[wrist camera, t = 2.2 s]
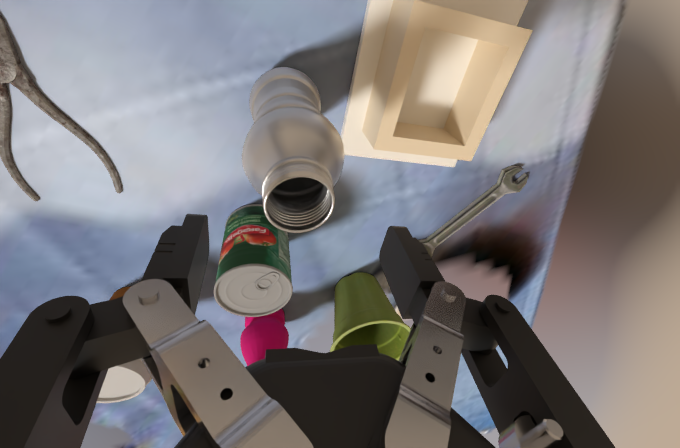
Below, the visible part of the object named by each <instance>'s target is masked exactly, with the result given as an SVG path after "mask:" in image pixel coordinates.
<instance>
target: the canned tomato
mask: <svg viewBox="0 0 680 448" xmlns="http://www.w3.org/2000/svg"><path fill="white" fill-rule="evenodd" d="M288 240H289V239H288V232H286V231H282V230H280V229H278V228H276V227H275V226H274V225H272V224H271V223H270V222H269V221H268V219H267V217H266V216H265V213H264V209H263V205H261V204H251V205H246V206H243V207H240V208H238V209H236V210H235V211H234V212H233V213H231V215H230V216H229V217H228V219H227V221H226V226H225V232H224V238H223V244H222V249H221V254H220V260H219V265H218V271H217V276H216V283H215V286H214V298H215V300H216V302H217V303H218V304H219V305H220V306H221V307H222V308H223V309H225V310H226V311H228V312H230V313H232V314H235V315H239V316H244V317H259V316H264V315H268V314H271V313H274V312H276V311H278V310H279V309H281V308H282V307H284V306H285V305H286V304H287V303H288V301H289V300H290V298H291V296H292V290H293V287H292V282H291V269H290V268H291V266H290V255H289V242H288Z"/></svg>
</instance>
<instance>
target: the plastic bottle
mask: <svg viewBox="0 0 680 448" xmlns="http://www.w3.org/2000/svg"><path fill="white" fill-rule="evenodd" d="M249 104H250V111H251V114H252V118H253V120H254V124H253V126H252V127H251V129H250V131H249V132H248V134H247V137H246V140H245V142H244V145H243V151H242V164H243V168H244V171H245V174H246V176H247V178H248V179H249V181H250V183H251V184H252V186H253V188H254V189H255V190H256V191H257V192H258V193H259V194H260V195H262V198H263V209H264V213H265V216H266V217H267V219H268V221H269V222H270V223H271V224H272V225H274V226H275V227H276V228H278V229H280V230H282V231H286V232H291V233H303V232H308V231H311V230H313V229H316V228H318V227H319V226H321V225H322V224H323V223H325V222H326V221H327V220H328V218H329V217H330V216H331V214H332V212H333V209H334V205H335V195H334V191H333V189H334V186H335V185H336V183H337V181H338V179H339V178H340V175H341V172H342V169H343V164H344V145H343V142H342V139H341V137H340V135H339V133H338V132H337V130H336V129H335V127H334V126H333V124H332V123H331V122H330V121H329V120H328V119H327V118H326V117H325V116H324V115H322V114H321V113H320V110H321V102H320V95H319V92H318V89H317V87H316V85H315V84H314V82H313V81H312V80H311V79H310V78H309V77H308V76H307V75H306V74H304V73H303V72H301V71H299V70H297V69H293V68H289V67H279V68H274V69H272V70H269V71H267V72H266V73H264V74H263V75H261V76H260V78H259V79H258V80H257V81H256V82H255V84H254V85H253V87H252V90H251V93H250V99H249Z"/></svg>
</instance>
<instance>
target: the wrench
mask: <svg viewBox="0 0 680 448" xmlns="http://www.w3.org/2000/svg"><path fill="white" fill-rule="evenodd" d="M521 170H523V168H522V167H520V166H515V165H512V166H509V167H507V168H505V169H502V171H501V173H500V176H499V179H498V181H497V183H496V184H495V185H494V186H493V187H491V188H490V189H489V190H487V191H486V192H485V193H484V194H482V195H481V196H480V197H479V198H477V199H476V200H475V201H473V202H472V203H471V204H470V205H468V206H467V207H466V208H465V209H463V210H462V211H461V212H459V213H458V214H457V215H456V216H454V217H453V218H452V219H450V220H449V221H448V222H447V223H445V224H444V225H443V226H442V227H440V228H439V229H438V230H436V231H435V232H434V233H433V234H431V235H430V236H429V237H428V238H426V239H422V240H419V241H420V242H421V243H422V244H423V245H424V246H425V248H426V250H427V251H428V254H429V255H430V257H431V258H432V255H433V252H434V249H435V247H437V246H438V245H439V244H441V243H442V242H443V241H445V240H446V239H447V238H449V237H450V236H451V235H452V234H454V233H455V232H456V231H458V230H459V229H460V228H462V227H463V226H464V225H466V224H467V223H468V222H469V221H471V220H472V219H473V218H475V217H476V216H477V215H479V214H480V213H481V212H483V211H484V210H485V209H486V208H488V207H489V206H490V205H492V204H493V203H494V202H496V201H497V200H498V199H500V198H501V197H502V196H503V195H505V194H508V193H515V192H520V191H521V189H522V188H523V187H524V186H525V184H526V183H527V178H528V175H526V174H525V173H524V174H523V175H521V176H520V177H519V178H518V179H517V180H515V181H513V176H514V175H516V174H517V173H518V172H520V171H521Z"/></svg>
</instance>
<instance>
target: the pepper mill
mask: <svg viewBox="0 0 680 448" xmlns="http://www.w3.org/2000/svg"><path fill="white" fill-rule="evenodd" d="M284 324H285V316H284V311H283V310H282V309H279V310H278V311H276V312H274V313H271V314H268V315H264V316H259V317H245V327H246V328H245V329H244V331H243V332H242V335H241V350H242V354H243V356H244V359H245V361H246V363H247V366H249V365H250V364H252V363H254V362H256V361H259V360H262V359H265V354H266V349H285V348H287V346H288V337H289V335H288V331H287V329H286V327H285V326H284Z"/></svg>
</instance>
